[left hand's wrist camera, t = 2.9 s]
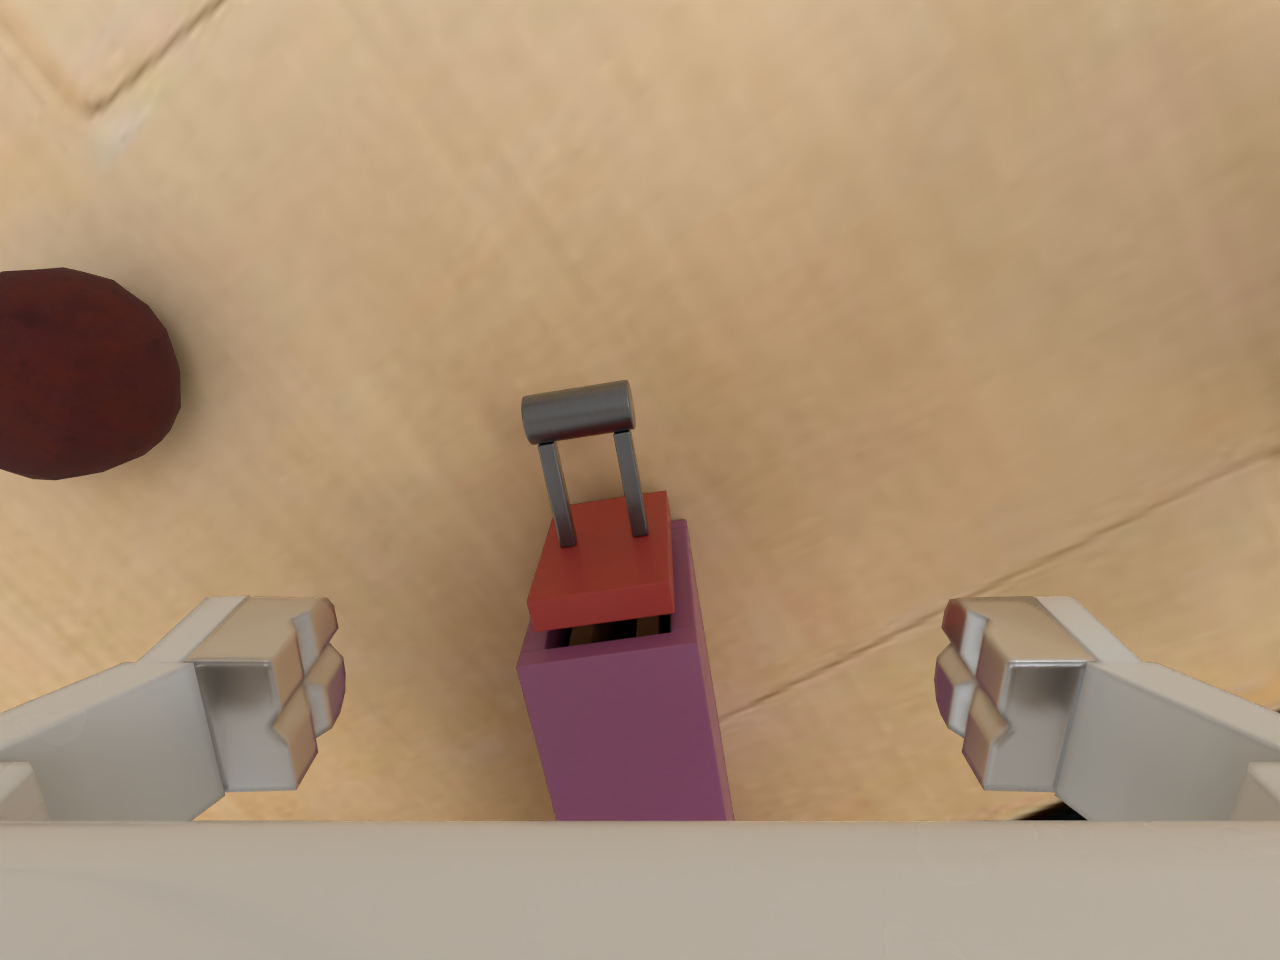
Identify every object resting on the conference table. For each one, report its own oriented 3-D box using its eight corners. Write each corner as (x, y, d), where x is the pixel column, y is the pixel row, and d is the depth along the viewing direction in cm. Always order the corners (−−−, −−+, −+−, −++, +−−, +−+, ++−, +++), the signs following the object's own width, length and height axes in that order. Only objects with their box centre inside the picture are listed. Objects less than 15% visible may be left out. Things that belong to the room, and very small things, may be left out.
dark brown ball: (13, 393, 32) (-155, 447, 25) (59, 221, 29) (-113, 231, 23) (184, 476, 33) (67, 548, 26) (243, 317, 31) (130, 352, 24)
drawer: (525, 373, 30) (484, 433, 23) (643, 354, 30) (639, 408, 23) (633, 855, 39) (628, 1012, 32) (725, 845, 39) (742, 1001, 31)
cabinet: (553, 537, 34) (515, 666, 25) (686, 518, 33) (697, 642, 24) (632, 884, 41) (625, 1084, 32) (742, 872, 41) (768, 1071, 31)
